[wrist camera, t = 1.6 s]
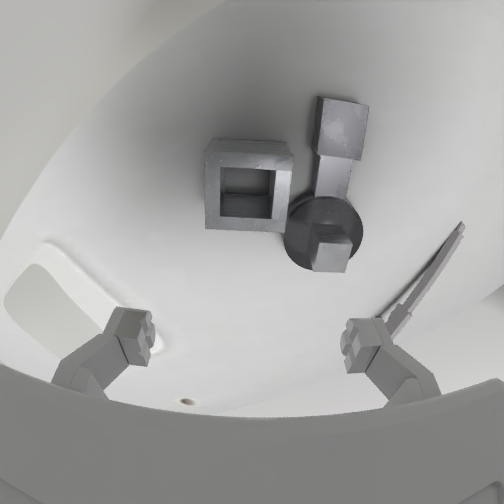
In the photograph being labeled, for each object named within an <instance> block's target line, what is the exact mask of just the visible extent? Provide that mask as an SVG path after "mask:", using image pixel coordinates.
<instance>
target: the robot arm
mask: <svg viewBox="0 0 504 504" xmlns="http://www.w3.org/2000/svg"><path fill="white" fill-rule="evenodd" d="M151 319H152V315H151V312H150V311H147V310H139V309H132V308H123V307H116V308H115V309H114V311H113V313H112V315H111V317H110V319H109V321H108V323H107V325H106V327H105V330H104V332H103V334H98V335H97V336H95V337H94V338H93V339H91V340H90V341H88V342H87V343H85V344H84V345H82V346H81V347H80V348H78V349H77V350H75V351H74V352H73V353H71V354H70V355H68V356H67V357H65V358H64V359H63V360H61V361H60V363H59V366H58V368H57V370H56V372H55V374H54V376H53V379H52V381H51V383H49V382H46V381H43V380H40V379H38V378H35V377H32V376H30V375H27V374H24V373H22V372H19V371H17V370H15V369H12V368H10V367H8V366H5V365H3V364H1V363H0V504H504V382H503V381H501V380H500V379H497V378H494V379H490V380H488V381H485V382H482V383H479V384H476V385H473V386H470V387H467V388H464V389H461V390H458V391H455V392H451V393H448V394H444V395H441V392H440V389H439V387H438V384H437V382H436V380H435V377H434V375H433V373H431V372H430V371H429V370H428V369H427V368H425V367H424V366H423V365H422V364H420V363H419V362H418V361H417V360H415V359H414V358H413V357H412V356H410V355H409V354H408V353H407V352H405V351H404V350H403V349H402V348H400V347H399V346H398V345H394V344H393V341H392V339H391V337H390V334H389V332H388V330H387V327H386V325H385V323H384V321H383V319H382V318H381V317H380V318H355V319H349V320H348V321H347V323H346V328H347V329H346V330H345V331H344V332H343V333H342V336H341V341H340V346H341V352H342V354H343V355H345V356H346V358H345V360H344V363H345V367H346V371H347V374H349V373H364V372H365V374H366V375H367V376H368V377H369V378H370V380H371V381H372V382H373V383H374V384H375V385H376V386H377V387H378V389H379V390H380V391H382V393H383V394H384V395H385V396H386V397H387V398H388V400H389V401H388V402H387V404H386V405H385V406H384V407H383V408H380V409H374V410H367V411H360V412H352V413H343V414H334V415H322V416H309V417H308V416H306V417H283V418H282V417H278V418H256V417H226V416H211V415H200V414H190V413H182V412H174V411H166V410H160V409H153V408H147V407H142V406H136V405H131V404H126V403H121V402H117V401H112V400H109V399H108V397H107V396H106V394H105V393H104V391H103V390H104V389H105V388H106V387H107V386H108V385H109V384H110V383H111V382H112V381H113V380H114V379H116V378H117V377H118V376H119V375H120V374H121V373H122V372H123V371H124V370H125V369H126V368H127V367H128V366H129V364H130V365H137V366H146V367H147V366H148V363H149V359H150V356H151V353H150V350H149V349H150V348H152V347H153V345H154V342H155V327H154V324H153V323H152V322H151Z"/></svg>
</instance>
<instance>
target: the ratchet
mask: <svg viewBox="0 0 504 504" xmlns="http://www.w3.org/2000/svg"><path fill="white" fill-rule="evenodd" d="M368 111H369V106H366V105H362V104H358V103H353V102H348V101H343V100H337V99H331V98H325V97H318V99H317V108H316V117H315V126H314V134H313V142H312V149H313V150H314V152H315V153H316V160H315V167H314V174H313V181H312V187H311V191H310V192H307V193H305V194H303V195H301V196H299V197H298V198H296V199H295V200H294V201H293V202H292V203H291V204H290V205H289V206H288V209H287V217H286V225H285V232H284V233H282V235H283V241H284V246H285V250H286V252H287V254H288V256H289V257H290V258H291V260H292V261H293V262H295V263H296V264H297V265H299V266H301V267H303V268H305V269H309V270H313V272H339V273H345V270H346V267H347V263H348V260H349V259H350V258H351V257H352V256H353V255H354V254H355V253H356V251H357V250H358V248H359V246H360V244H361V241H362V237H363V225H362V221H361V219H360V217H359V215H358V213H357V212H356V211H355V209H354V208H353V206H352V205H351V203H350V202H349V201H348V200H347V199H346V193H347V188H348V183H349V178H350V172H351V167H352V161H353V160H361V154H362V149H363V143H364V137H365V131H366V124H367V118H368Z"/></svg>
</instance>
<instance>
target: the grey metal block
mask: <svg viewBox="0 0 504 504" xmlns="http://www.w3.org/2000/svg"><path fill="white" fill-rule="evenodd" d="M293 159H294V156H293V154H292V152H291V150H290V148H289V147H288V145H287V143H284V142H271V141H257V140H237V139H213V140H212V141H211V143H210V144H209V146H208V147H207V149H206V150H205V229H219V230H240V231H260V232H278V233H284V232H285V225H286V217H287V209H288V201H289V193H290V185H291V177H292V168H293ZM226 167H230V168H251V169H268V170H271V173H270V184H269V195H268V196H264V195H246V194H225V170H226Z"/></svg>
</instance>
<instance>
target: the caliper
mask: <svg viewBox="0 0 504 504" xmlns="http://www.w3.org/2000/svg"><path fill="white" fill-rule="evenodd" d="M464 229H465V225H464V224H463V223H462V222H460V224H459V225H458V227H457V229H456V230H454V231H453V232H452V234H451V235H450V236H449V237H448V239H447V240H446V242H445V244H444V245H443V247H442V248H441V250H440V252H439V253H438V255H437V256H436V258H435V260H434V261H433V263H432V264H431V266H430V267H429V269H428V270H427V272H426V273H425V275H424V276H423V277H422V279H421V280H420V282H419V283H418V284H417V286H416V287H415V289H414V290H413V291H412V293H411V294H410V295H409V297H408V298H407V299H406V301H405V302H404V303H403V305H401V304H399V303H398V304H397V306H396V308H395V309H394V310H393V311H392V312H391V314H390V316H389V318H388V321H387V322H386V323H385V325H386V327H387V330H388V332H389V334H390V337H391V339H392V340H393V339H394V338H395V337H396V335H397V334H398V333H399V332H400V331H401V329H402V328H403V327H404V326H405V324H406V323H407V322H408V321H409V319H410V318H411V317H412V314H411V313H412V312H413V310H414V309H415V308H416V306H417V305H418V304H419V302H420V301H421V300H422V298H423V297H424V296H425V294H426V293H427V292H428V290H429V289H430V287H431V286H432V285H433V283H434V282H435V280H436V279H437V277H438V276H439V275H440V273H441V272H442V270H443V269H444V267H445V266H446V264H447V262H448V261H449V259H450V258H451V256H452V255H453V253H454V251H455V250H456V248H457V246H458V245H459V243H460V241H461V240H462V238H463V236H462V235H461V234H462V232H463V231H464Z"/></svg>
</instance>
